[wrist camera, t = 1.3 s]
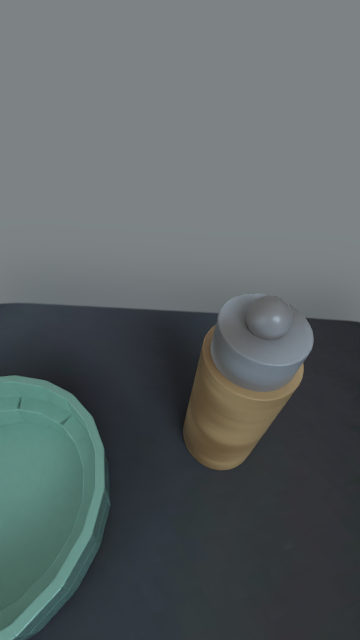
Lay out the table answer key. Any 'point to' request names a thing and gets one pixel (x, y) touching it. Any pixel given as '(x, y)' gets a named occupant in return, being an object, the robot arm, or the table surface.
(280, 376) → the pepper mill
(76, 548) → the green shallow bowl
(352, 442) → the table surface
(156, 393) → the table surface
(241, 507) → the table surface
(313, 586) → the table surface
